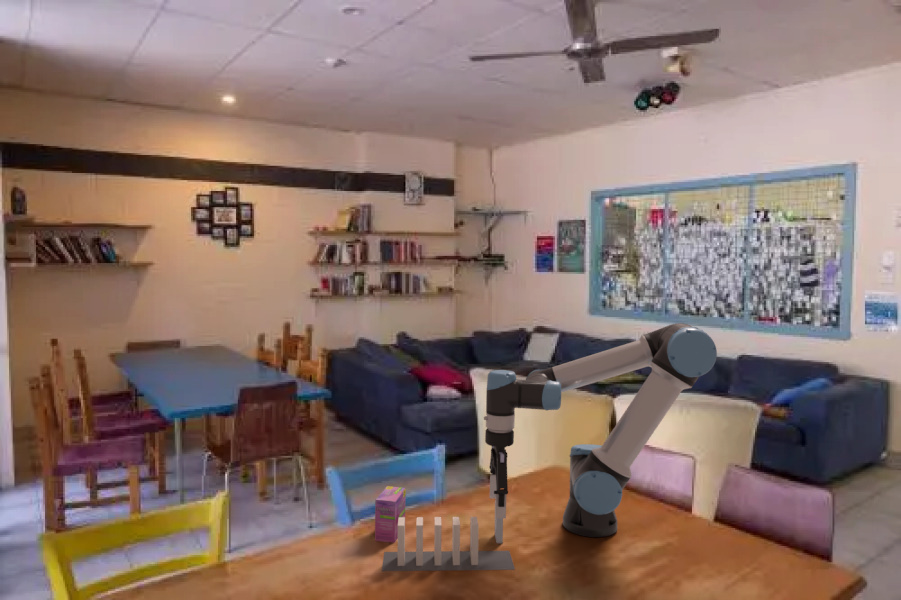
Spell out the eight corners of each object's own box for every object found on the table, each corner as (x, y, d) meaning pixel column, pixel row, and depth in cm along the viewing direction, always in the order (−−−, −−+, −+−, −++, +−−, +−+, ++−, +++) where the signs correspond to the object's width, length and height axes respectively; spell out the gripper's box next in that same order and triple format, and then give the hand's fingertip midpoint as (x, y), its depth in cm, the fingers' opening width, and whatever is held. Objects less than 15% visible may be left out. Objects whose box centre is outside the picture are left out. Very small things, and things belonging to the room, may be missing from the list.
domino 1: (404, 556, 159) (405, 517, 158) (404, 565, 154) (404, 525, 153) (398, 556, 159) (398, 517, 158) (397, 565, 154) (397, 525, 153)
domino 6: (500, 537, 172) (500, 501, 171) (502, 545, 167) (503, 508, 166) (494, 537, 172) (495, 501, 171) (496, 545, 167) (497, 508, 166)
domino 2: (422, 556, 159) (423, 517, 159) (422, 565, 154) (422, 525, 154) (416, 556, 159) (416, 517, 158) (416, 565, 154) (416, 525, 153)
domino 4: (458, 555, 159) (458, 516, 159) (459, 565, 154) (460, 525, 154) (452, 555, 159) (452, 516, 159) (453, 565, 154) (453, 525, 154)
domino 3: (440, 555, 159) (441, 516, 159) (441, 565, 154) (441, 525, 154) (434, 555, 159) (434, 517, 159) (434, 565, 154) (434, 525, 154)
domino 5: (476, 555, 160) (476, 516, 159) (478, 564, 155) (478, 524, 154) (470, 555, 160) (470, 516, 159) (471, 565, 155) (471, 524, 154)
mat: (509, 552, 163) (509, 550, 162) (514, 571, 153) (514, 569, 153) (384, 554, 161) (384, 551, 161) (381, 573, 151) (381, 570, 151)
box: (395, 545, 167) (395, 501, 166) (374, 543, 168) (374, 499, 167) (405, 528, 177) (406, 487, 176) (386, 527, 178) (386, 485, 177)
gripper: (481, 417, 180) (479, 490, 181) (490, 442, 155) (487, 526, 156) (507, 417, 180) (505, 490, 182) (520, 442, 155) (518, 527, 157)
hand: (497, 507), depth 169 cm, fingers open, 13 cm apart
